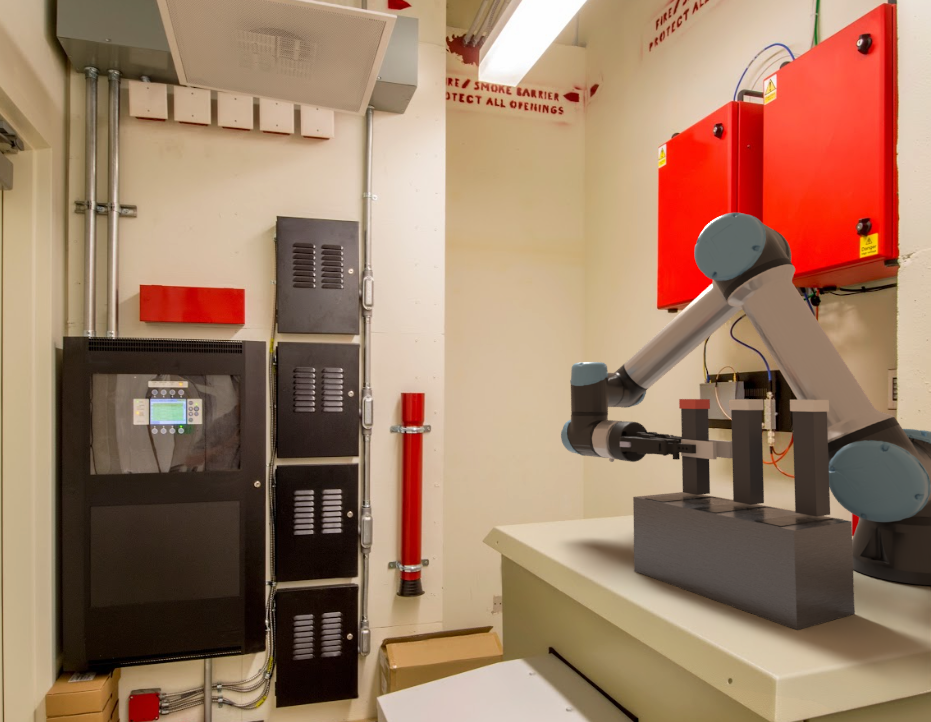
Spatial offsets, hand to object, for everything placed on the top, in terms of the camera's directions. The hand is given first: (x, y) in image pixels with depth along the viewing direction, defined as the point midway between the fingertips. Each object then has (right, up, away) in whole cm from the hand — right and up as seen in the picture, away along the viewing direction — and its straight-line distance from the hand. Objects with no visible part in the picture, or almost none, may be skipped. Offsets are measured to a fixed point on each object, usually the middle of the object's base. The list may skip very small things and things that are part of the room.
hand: (722, 450), depth 96 cm
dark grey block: (-2, -20, -7) cm, 21 cm away
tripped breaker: (-3, -8, +4) cm, 9 cm away
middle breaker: (+2, -7, -5) cm, 9 cm away
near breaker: (+7, -7, -13) cm, 16 cm away
